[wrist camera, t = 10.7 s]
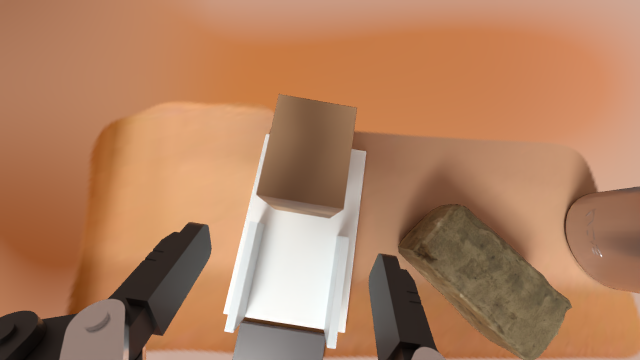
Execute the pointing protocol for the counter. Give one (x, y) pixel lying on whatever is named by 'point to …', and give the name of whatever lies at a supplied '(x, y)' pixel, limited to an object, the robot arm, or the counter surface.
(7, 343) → the robot arm
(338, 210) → the walnut block
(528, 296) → the stone block
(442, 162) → the counter surface
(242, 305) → the white tray
